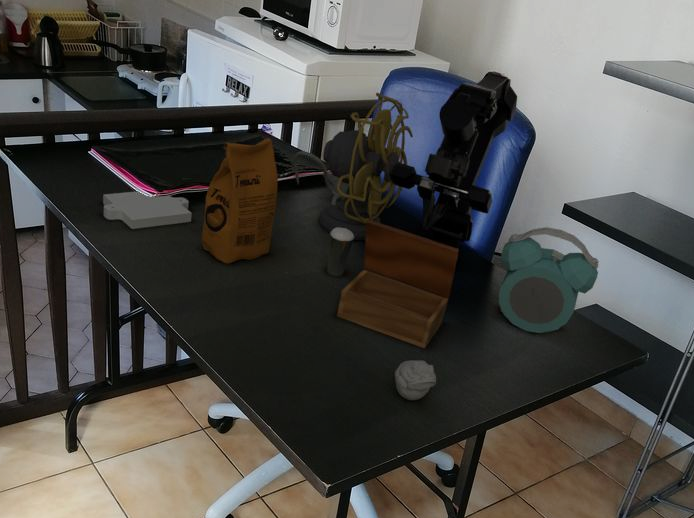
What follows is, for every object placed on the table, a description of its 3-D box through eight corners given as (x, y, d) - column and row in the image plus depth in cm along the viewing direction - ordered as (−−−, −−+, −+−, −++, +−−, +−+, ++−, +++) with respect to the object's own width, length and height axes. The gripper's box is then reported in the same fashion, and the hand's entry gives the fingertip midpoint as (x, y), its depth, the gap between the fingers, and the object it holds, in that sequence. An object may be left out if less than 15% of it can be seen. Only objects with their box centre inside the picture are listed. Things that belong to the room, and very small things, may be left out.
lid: (457, 252, 126) (459, 249, 127) (366, 221, 130) (368, 219, 131) (448, 298, 135) (450, 295, 136) (363, 268, 139) (365, 265, 139)
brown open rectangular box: (424, 348, 129) (432, 322, 127) (336, 316, 133) (342, 290, 131) (441, 323, 138) (448, 298, 136) (358, 294, 142) (363, 269, 139)
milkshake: (347, 281, 146) (357, 233, 141) (321, 274, 146) (329, 226, 141) (352, 271, 150) (362, 225, 145) (326, 265, 150) (335, 218, 145)
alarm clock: (574, 328, 147) (610, 234, 137) (570, 349, 139) (608, 251, 129) (488, 300, 150) (518, 206, 140) (479, 320, 142) (510, 222, 132)
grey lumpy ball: (402, 413, 112) (412, 375, 108) (382, 386, 117) (392, 348, 113) (437, 410, 114) (448, 372, 111) (416, 383, 120) (427, 346, 116)
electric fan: (350, 256, 156) (379, 111, 141) (231, 203, 168) (246, 65, 153) (409, 227, 176) (441, 98, 161) (299, 182, 188) (319, 57, 173)
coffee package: (193, 245, 146) (203, 134, 135) (245, 236, 155) (258, 130, 144) (223, 267, 141) (235, 153, 130) (275, 256, 149) (291, 148, 138)
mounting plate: (171, 196, 165) (171, 188, 164) (201, 220, 157) (202, 211, 156) (91, 204, 154) (91, 195, 153) (119, 230, 146) (120, 221, 145)
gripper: (400, 119, 132) (368, 202, 131) (503, 149, 127) (470, 235, 127) (409, 144, 143) (379, 220, 142) (503, 172, 138) (473, 251, 137)
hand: (424, 231), depth 137 cm, fingers closed
